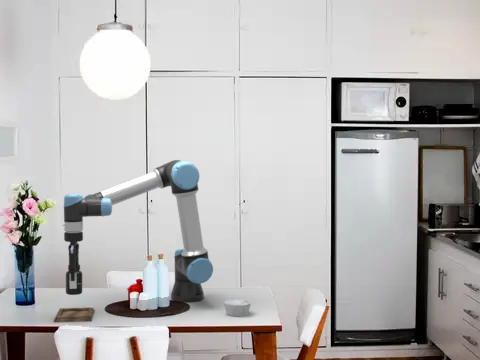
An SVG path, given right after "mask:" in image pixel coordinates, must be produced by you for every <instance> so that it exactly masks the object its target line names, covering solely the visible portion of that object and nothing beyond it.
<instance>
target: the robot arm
mask: <svg viewBox="0 0 480 360" xmlns="http://www.w3.org/2000/svg"><path fill="white" fill-rule="evenodd" d="M199 180H200V172H199V169H198V168H197V166H196V165H194V164H193V163H192V162H190V161H187V160H180V159H179V160H178V159H175V160H171V161H168V162H167V163H164V164H162V165H160V166H158V167H155V168H153V169H152V171H151V172H148V173H146V174H142V175H140V176H138V177H135V178H133V179H130V180H128V181H124V182H122V183H120V184H117V185H114V186H112V187H108V188H106V189H104V190H101V191H99V192H95V193H93V194H86V195H85V196H84V197H83V194H81V193H70V194H65V195H64V197H63V198H64V199H63V220H64V221H63V222H64V223H62V226H63V230H64V233H63V238H64V242H67V243H69V245H68V248H67V249H68V265H69V270H67V271H68V273H69V274H70V289H76V288H77V280H76V264H79V263H80V262H79V258H80V257H79V254H80V251H79V250H80V244H79V242H83V240H84V232H83V230H84V221H83V220H84V219H83V217H84V218H86V217H108V216H110V215H112V212H113V206H114V205H117V204H120V203H122V202H124V201H127V200H130V199H132V198H135V197H138V196H140V195H143V194H145V193H148V192H151V191H153V190H156V189H158V188H159V189H164V188H169V187H170V188H171V194H172V195H173V196H174V197H175V198H176V207H177V212H178V218H179V226H180V232H181V237H182V245H183V248H182V249H179V248H178V249H176V250H175V252H174V255H173V256H174V283H173V287H172V290H171V293H170V299H171V300H172V301H174V302H178V303H179V302H180V303H181V302H182V303H193V302H197V301H198V302H199V301H201V300H204V298H205V292H204V289H203V286H202V284H204V283H206V282H208V281H209V280H210V278H211V277H212V276H213V272H214V266H213V263H212V261H210V259H209V258H210V257H209V252H208V249H207V248H206V247H204V242H203V235H202V228H201V222H200V215H199V214H200V213H199V207H198V202H197V201H198V200H197V193H198V191H199V185H198V183H199ZM79 265H80V264H79Z"/></svg>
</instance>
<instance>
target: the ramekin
mask: <svg viewBox="0 0 480 360" xmlns="http://www.w3.org/2000/svg"><path fill="white" fill-rule="evenodd" d="M251 303H252V302H251V301H250V300H249V299H244V298H230V299H229V298H228V299H227V300H225V301H224V308H225V313H226V314H227V316H230V317H245V316H247V315H248V314H249V313H250V306H251V305H252V304H251Z"/></svg>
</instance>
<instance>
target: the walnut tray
mask: <svg viewBox="0 0 480 360" xmlns="http://www.w3.org/2000/svg"><path fill="white" fill-rule="evenodd" d="M95 311H96V309H94V307H93V306H92V307H89V306H88V307H60V308H59V309H58V311H57V312H56V314H55V317H54V319H53V323H75V322H76V323H78V322H92V321H93V319H94V316H95Z"/></svg>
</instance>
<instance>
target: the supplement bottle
mask: <svg viewBox="0 0 480 360" xmlns="http://www.w3.org/2000/svg"><path fill="white" fill-rule="evenodd" d="M68 271H69V264H68V266H67V271H66V272H65V294H66V295H67V296H68V295H69V296H76V295H77V296H78V295H81V294H83V272H82V271H81V265H80V264H76V280H77V288H76V289H70V274H69V273H68Z"/></svg>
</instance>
